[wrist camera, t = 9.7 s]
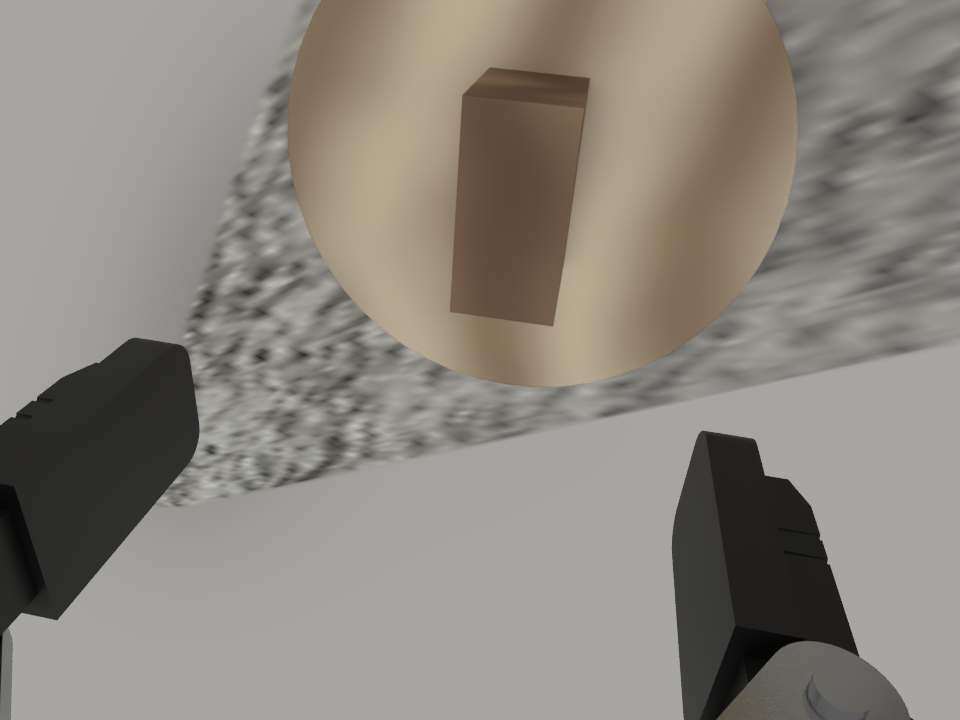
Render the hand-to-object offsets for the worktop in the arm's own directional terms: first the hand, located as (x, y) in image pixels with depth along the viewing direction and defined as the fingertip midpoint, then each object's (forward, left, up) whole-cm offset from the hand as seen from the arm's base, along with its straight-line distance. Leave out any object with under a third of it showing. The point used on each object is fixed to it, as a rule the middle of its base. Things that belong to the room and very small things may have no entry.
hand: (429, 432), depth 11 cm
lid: (0, 0, -15) cm, 15 cm away
